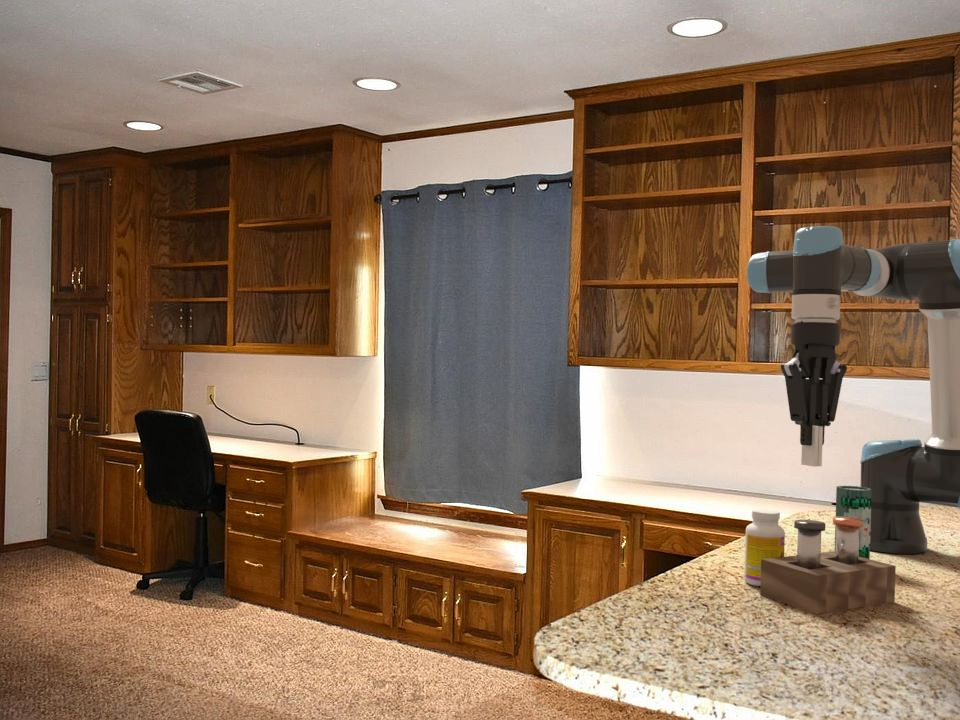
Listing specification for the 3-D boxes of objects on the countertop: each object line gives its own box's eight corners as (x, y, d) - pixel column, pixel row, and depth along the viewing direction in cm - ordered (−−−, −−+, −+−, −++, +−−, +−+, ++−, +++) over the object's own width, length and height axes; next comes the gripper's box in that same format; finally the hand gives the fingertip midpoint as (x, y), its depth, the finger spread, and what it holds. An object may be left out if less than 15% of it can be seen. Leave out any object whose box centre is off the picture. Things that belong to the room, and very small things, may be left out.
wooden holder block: (835, 584, 160) (836, 550, 160) (894, 602, 149) (895, 565, 149) (760, 594, 152) (761, 559, 152) (817, 614, 141) (818, 575, 141)
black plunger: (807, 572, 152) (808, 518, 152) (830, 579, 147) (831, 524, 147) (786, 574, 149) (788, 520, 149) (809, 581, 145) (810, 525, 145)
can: (852, 569, 172) (854, 490, 172) (828, 562, 178) (830, 486, 178) (875, 567, 175) (878, 489, 175) (851, 560, 180) (853, 485, 180)
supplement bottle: (785, 589, 156) (788, 515, 155) (745, 586, 157) (748, 513, 157) (780, 580, 162) (783, 509, 162) (742, 577, 163) (744, 506, 163)
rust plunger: (844, 567, 156) (846, 515, 156) (868, 574, 152) (869, 520, 151) (825, 570, 154) (826, 517, 154) (848, 576, 149) (849, 522, 149)
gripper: (804, 319, 142) (800, 469, 142) (862, 322, 148) (858, 466, 148) (768, 320, 148) (764, 463, 149) (825, 323, 155) (821, 461, 155)
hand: (811, 465), depth 148 cm, fingers closed
